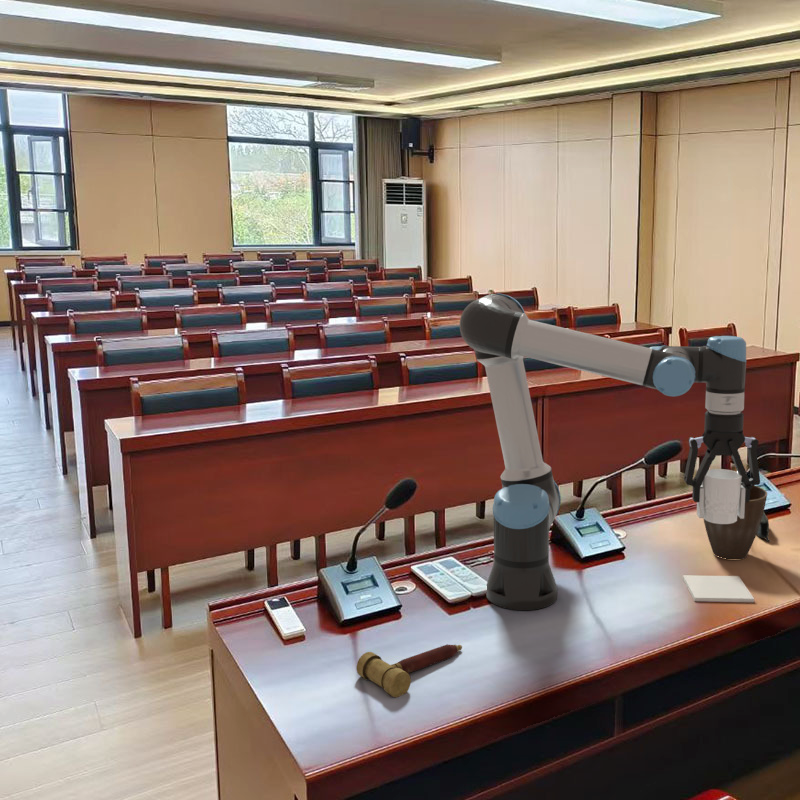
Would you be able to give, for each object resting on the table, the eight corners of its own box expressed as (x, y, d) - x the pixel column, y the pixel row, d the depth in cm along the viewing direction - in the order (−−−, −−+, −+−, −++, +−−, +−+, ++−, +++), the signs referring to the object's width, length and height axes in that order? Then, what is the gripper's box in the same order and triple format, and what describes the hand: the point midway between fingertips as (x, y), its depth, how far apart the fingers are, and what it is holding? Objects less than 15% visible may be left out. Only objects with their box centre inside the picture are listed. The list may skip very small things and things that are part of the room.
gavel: (443, 626, 165) (480, 644, 157) (443, 649, 165) (479, 668, 158) (356, 655, 152) (390, 676, 144) (355, 679, 152) (390, 701, 145)
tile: (694, 601, 179) (694, 597, 179) (682, 578, 191) (682, 575, 190) (754, 602, 178) (754, 598, 177) (738, 579, 189) (738, 576, 189)
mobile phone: (749, 505, 225) (760, 522, 210) (761, 505, 224) (773, 523, 210) (748, 523, 226) (759, 542, 211) (760, 523, 225) (772, 542, 211)
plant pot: (777, 562, 198) (781, 496, 195) (719, 569, 195) (722, 502, 192) (739, 541, 212) (742, 479, 209) (685, 547, 209) (687, 484, 206)
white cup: (733, 513, 185) (735, 468, 183) (744, 525, 177) (746, 479, 175) (696, 513, 185) (697, 469, 183) (705, 525, 178) (707, 479, 176)
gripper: (677, 415, 174) (673, 521, 179) (781, 414, 172) (776, 522, 176) (669, 407, 182) (667, 510, 186) (770, 407, 179) (765, 511, 183)
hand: (720, 516), depth 181 cm, fingers closed on white cup, 8 cm apart
